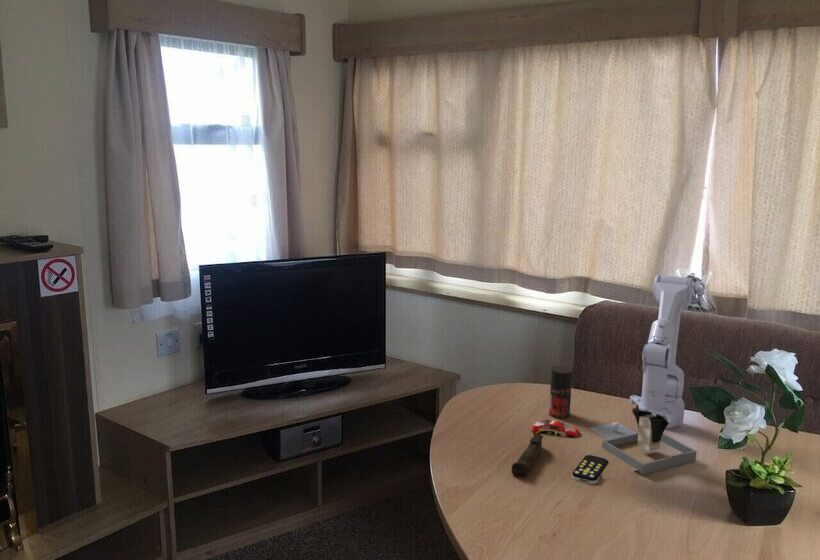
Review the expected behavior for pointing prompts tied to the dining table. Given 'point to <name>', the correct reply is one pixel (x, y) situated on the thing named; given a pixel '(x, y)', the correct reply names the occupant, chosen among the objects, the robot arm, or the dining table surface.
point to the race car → (554, 428)
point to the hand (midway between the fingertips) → (649, 438)
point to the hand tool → (527, 457)
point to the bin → (653, 466)
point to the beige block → (646, 434)
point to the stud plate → (612, 430)
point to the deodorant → (560, 392)
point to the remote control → (589, 469)
